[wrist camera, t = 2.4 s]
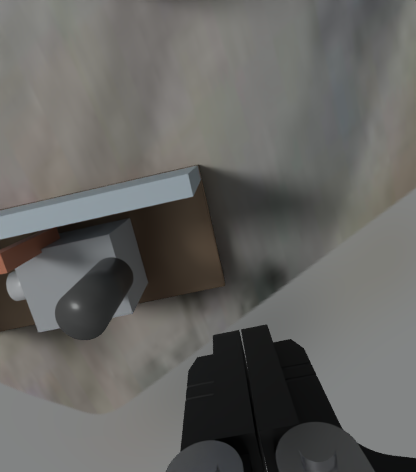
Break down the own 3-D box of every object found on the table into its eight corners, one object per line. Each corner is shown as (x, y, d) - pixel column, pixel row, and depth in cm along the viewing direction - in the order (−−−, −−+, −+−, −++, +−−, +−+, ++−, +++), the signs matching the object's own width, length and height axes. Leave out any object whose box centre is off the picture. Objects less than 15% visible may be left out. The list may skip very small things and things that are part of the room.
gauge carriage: (136, 204, 24) (84, 240, 15) (157, 280, 25) (122, 359, 16) (19, 230, 25) (-104, 281, 15) (46, 303, 26) (-52, 392, 16)
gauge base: (198, 164, 25) (197, 165, 23) (224, 278, 27) (224, 285, 26) (-68, 225, 26) (-85, 229, 25) (-24, 329, 28) (-37, 339, 27)
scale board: (197, 165, 23) (187, 173, 15) (201, 181, 24) (193, 198, 15) (-85, 229, 25) (-246, 272, 16) (-79, 244, 25) (-234, 293, 16)
